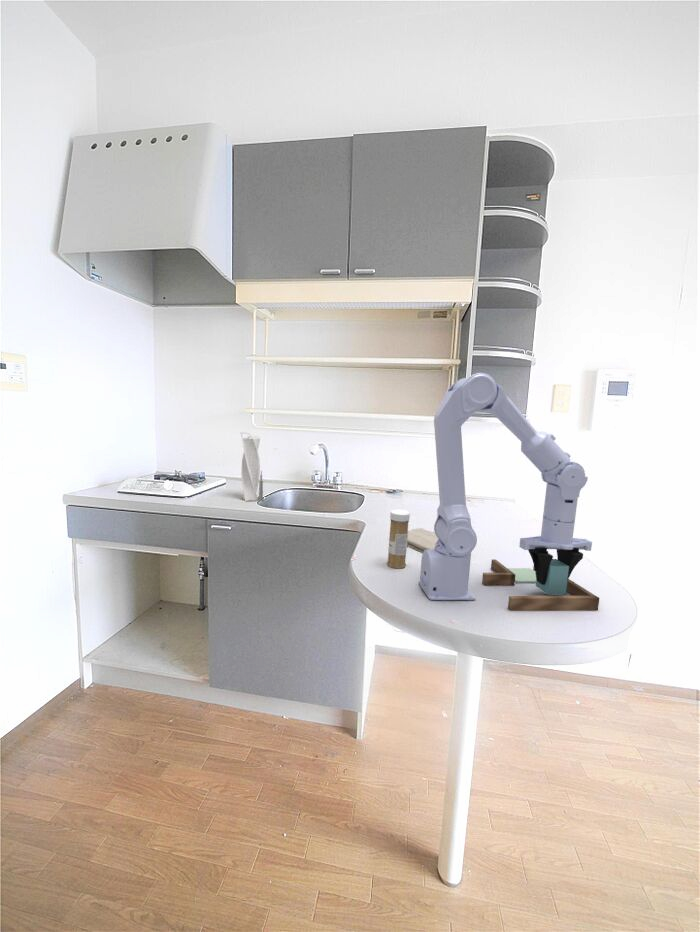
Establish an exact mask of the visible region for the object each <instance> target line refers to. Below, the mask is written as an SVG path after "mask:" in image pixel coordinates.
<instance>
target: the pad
mask: <svg viewBox="0 0 700 932" xmlns="http://www.w3.org/2000/svg"><path fill="white" fill-rule="evenodd" d="M506 568H507V569H509V570H510V571H511V572H513V573H514V574H515V583H516V584H536V573H535V570H533V569H531V568H529V567H528V568H527V567H525V568H524V567H506Z"/></svg>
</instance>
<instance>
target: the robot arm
mask: <svg viewBox="0 0 700 932" xmlns="http://www.w3.org/2000/svg"><path fill="white" fill-rule="evenodd" d="M476 412H480V413H481V412H482V413H486V414H489V415H493V416H494V417H495V418H496V419H497V420H499V421H500V422H501V423H502V424H503V425H504V426H505V427H506V429H508V430H509V431H510V432H511V433H512V434H513V435H514V436H515V437H516V438H517V439H518V440H519V441H520V444H521V445H520V450H521V453H523V455H524V456H525V457H526V458H527V459H528V461H530V462H531V464H532V465H534V467H535V468H536V469H538V471H539V473H540V475H541V480H542V482H544V483H546V488H545V495H544V496H545V498H544V504H543V505H544V506H543V514H542V515H543V516H542V524H541V531H540V535H538V536H531V537H530V536H529V537H519V547H518V548H520V549H523V550H524V551H528V553H529V555H530V558H531V560H532V563H533V567H534V568H535V570H534V572H535V573H536V580H537V581H538V582H539V583H540V584H542V585H545V583H546V580H547V574H548V568H549V565H550V562H551V560H552V559H554V556H553V554H550V553H549V551H548V550H556V556H557V558H556V559H557V560H559V561H561V562H563V563H564V564H566V565H568V566H569V571H568V579H570V576H571V574H572V572H573V570H574V569H575V567H576V566H577V565H578V564H579V563H580V561H582V559H584V553H583V552H581V551H580V550H582V551H583V550H584V551H586V552H587V551H588V552H591V551H592V546H593V541H591V540H589V539H586V538H577V537H576V538H575V537H574V532H575V531H574V529H575V525H576V524H575V523H576V517H577V516H576V515H577V506H578V498H580V492H581V490H582V489H583V488H584V487H585V486H586V484H587V483H588V479H589V477H588V476H586V472H585V469H584V467H583V466H582V465H581V464H579V462H574V461H571V454H569V453H568V452H565V451H564V450H563V449H562V448H561V447H560V445H559V444H557V443H556V441H555V440H557V438H556V437H555V435H553V434H552V433H551V434H550V433H547V431H537V430H536V429H535V428H534V427H533V426H532V424H531V423H530V422H529V421H528V419H527V418H526V416H524V415H523V413H522V412H521V410H520V409H519V408H518V407H517V406H516V405H515V403H514V402H513V401H512V400H511V398H510V397H509V396H508V394H507V393H506V391H505V389H504V387H503V386H501V385H500V384H499V383H496V381H495V379H494V378H493V377H492V376H491V375H490V374H487V373H484V372H475V373H474V374H472V375H470V376H468V377H463V378H460V379H458V380H456V381H455V382H454V383H453V384H452V385H450V386H449V388H447V389H446V391H445V394H444V396H443V398H442V401H441V403H440V405H439V407H438V409H437V411H436V413H435V415H434V418H433V426H434V427H433V428H434V440H435V455H436V467H437V468H436V469H437V480H438V481H437V483H438V494H439V495H438V496H439V504H438V507H437V510H436V512H437V515H436V519H435V522H434V526H433V530H434V533H435V534H436V536H437V537H438V541H437V542H436V544H435V548H433V549H430V550H424V551H423V553H422V554H421V555H422V556H421V560H420V561H421V562H420V577H419V581H418V584H419V586H420V588H421V589H422V590H423V593H424V594H425V595H426V597H427V599H428V600H430V601H475V600H476V596H475V595H474V594H473V593H472V592H471V590H469V580H470V571H471V570H470V569H471V559H472V552H473V551H474V549H475V548H476V546H477V541H478V539H477V538H478V536H477V533H476V531H475V530H474V528H473V526H472V521H471V515H470V513H469V510H468V507H467V503H466V502H467V501H466V485H465V483H466V482H465V469H464V453H463V437H462V435H463V434H462V427H463V426H462V425H464V423H466V421H468V419H469V418H471V417H472V415H474V414H475V413H476ZM568 579H567V581H568Z"/></svg>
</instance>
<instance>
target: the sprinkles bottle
mask: <svg viewBox="0 0 700 932" xmlns="http://www.w3.org/2000/svg"><path fill="white" fill-rule="evenodd" d="M389 519H390V527H389V537H388V555H387V561H386V565H387V566H388V567H390V568H393V569H403V568H405V567H406V559H407V539H408V531H409V522H410V512H409V511H408V510H405V509H392V510H391V511H390V514H389Z"/></svg>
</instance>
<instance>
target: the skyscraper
mask: <svg viewBox="0 0 700 932" xmlns="http://www.w3.org/2000/svg"><path fill="white" fill-rule="evenodd" d="M243 434H246V435H247V437H244V436H243ZM240 436H241V441H242V447H243V455H242V458H241V459H242V460H241V482H242V483H241V485H242V490H243V495H242V497H241V500H243V501H245V502H246V503H253V502H255V503H256V502H264V501H265V500H264V497H263V496H264V494H263V493H264V490H263V489H264V487H263V486H264V481H263V474H262V471H263V470H261V463H260V455H259V452H258V450H259V446H260V442H261V441H260V440H261V437H259V436H256V435H253V434H251V433H250V432H246V431H242V432H240ZM258 488H259V489H258ZM257 491H258V492H257ZM257 493H258V494H257Z"/></svg>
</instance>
